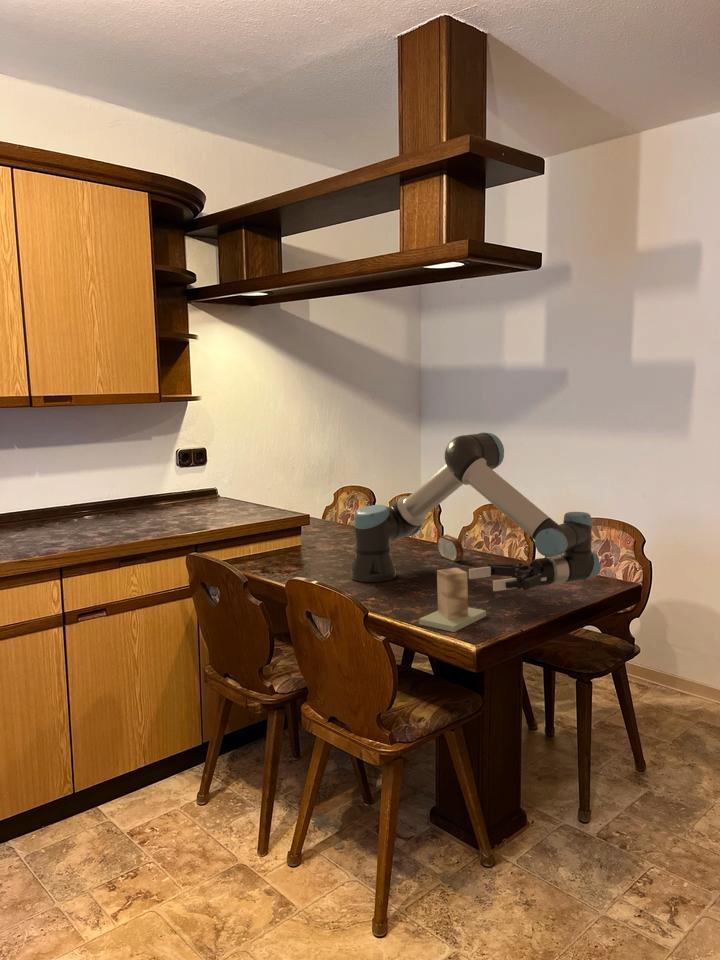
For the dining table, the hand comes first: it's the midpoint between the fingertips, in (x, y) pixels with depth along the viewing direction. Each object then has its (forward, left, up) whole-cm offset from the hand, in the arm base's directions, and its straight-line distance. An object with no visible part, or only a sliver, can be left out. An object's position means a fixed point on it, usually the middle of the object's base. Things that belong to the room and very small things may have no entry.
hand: (481, 579), depth 199 cm
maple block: (+7, -4, -9) cm, 12 cm away
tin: (-50, -43, -10) cm, 67 cm away
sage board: (+7, -4, -10) cm, 13 cm away
